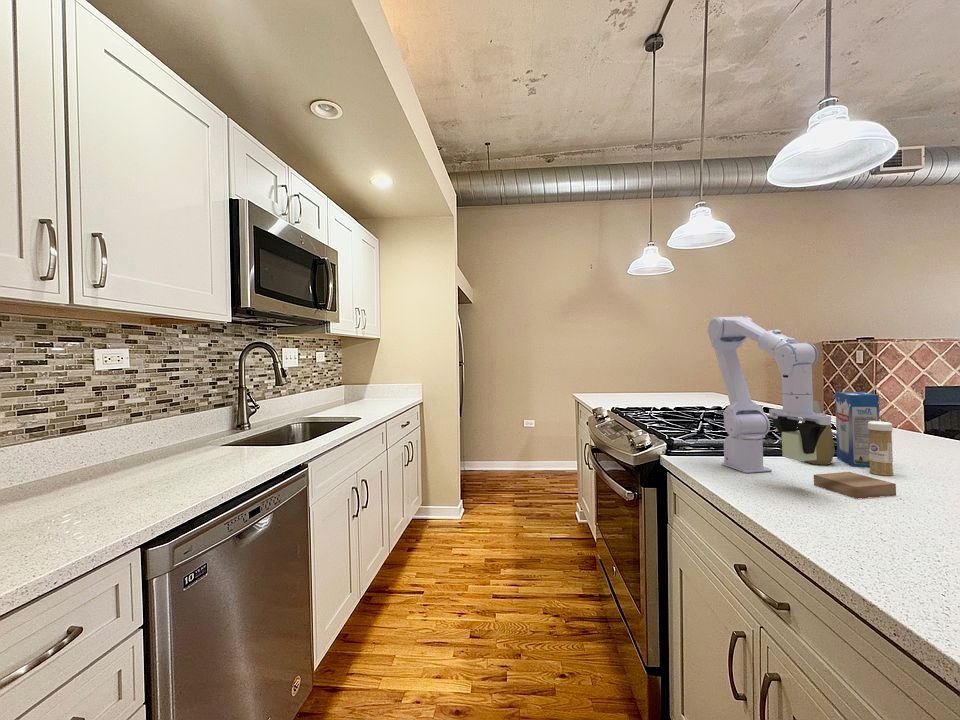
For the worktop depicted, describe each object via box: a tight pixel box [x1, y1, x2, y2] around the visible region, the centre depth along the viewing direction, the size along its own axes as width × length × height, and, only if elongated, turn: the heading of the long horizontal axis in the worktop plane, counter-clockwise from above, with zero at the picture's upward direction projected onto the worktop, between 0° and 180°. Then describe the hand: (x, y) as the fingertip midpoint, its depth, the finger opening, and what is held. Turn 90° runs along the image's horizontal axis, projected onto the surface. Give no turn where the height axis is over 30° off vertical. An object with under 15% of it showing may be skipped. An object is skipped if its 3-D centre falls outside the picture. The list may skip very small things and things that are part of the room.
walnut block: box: [813, 471, 897, 500], centre depth 95 cm, size 10×10×3 cm
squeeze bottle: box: [801, 400, 836, 466], centre depth 118 cm, size 8×8×18 cm
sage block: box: [781, 430, 817, 462], centre depth 97 cm, size 4×4×6 cm
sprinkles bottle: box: [868, 420, 894, 477], centre depth 106 cm, size 5×5×13 cm
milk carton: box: [834, 391, 881, 469], centre depth 117 cm, size 10×6×20 cm, turn 157°
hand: (799, 450), depth 97 cm, fingers closed on sage block, 4 cm apart
